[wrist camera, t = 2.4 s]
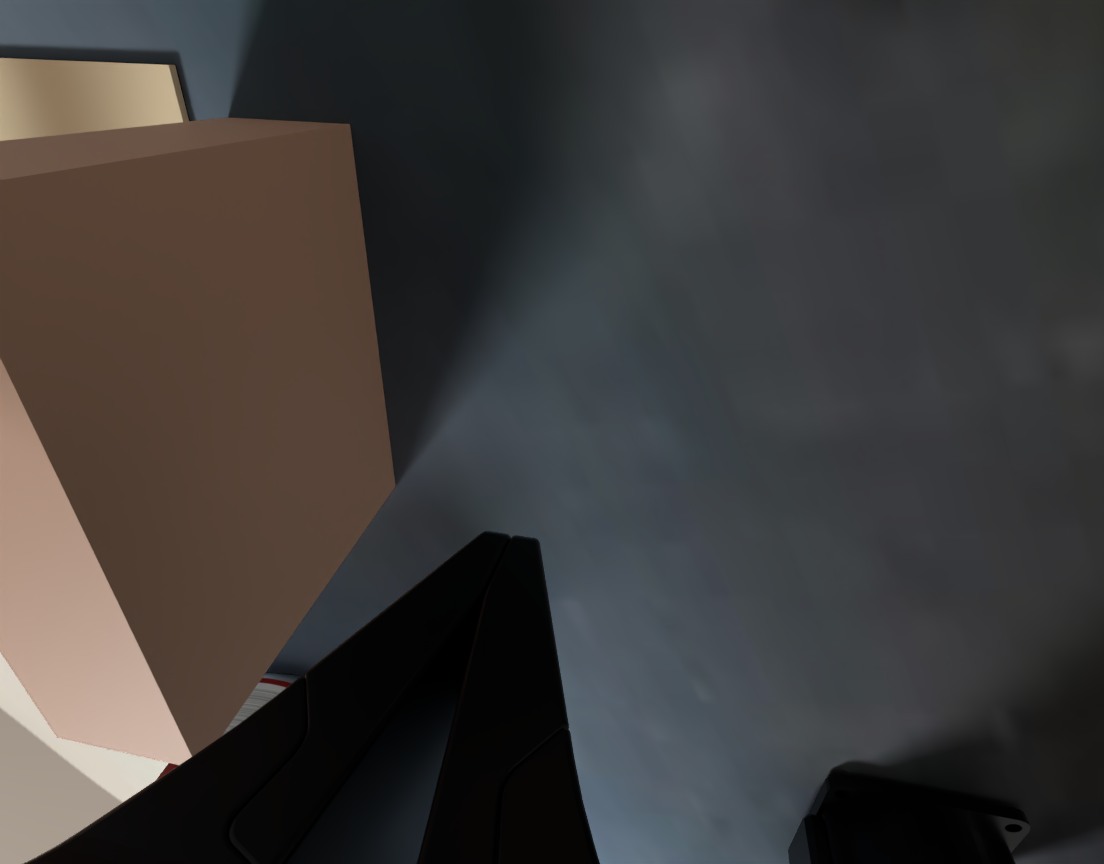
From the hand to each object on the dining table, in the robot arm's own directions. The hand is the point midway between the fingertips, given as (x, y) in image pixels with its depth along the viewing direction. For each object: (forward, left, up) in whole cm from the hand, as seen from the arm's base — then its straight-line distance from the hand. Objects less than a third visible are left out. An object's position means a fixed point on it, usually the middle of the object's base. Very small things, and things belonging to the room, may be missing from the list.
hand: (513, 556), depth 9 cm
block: (+7, 0, -7) cm, 10 cm away
